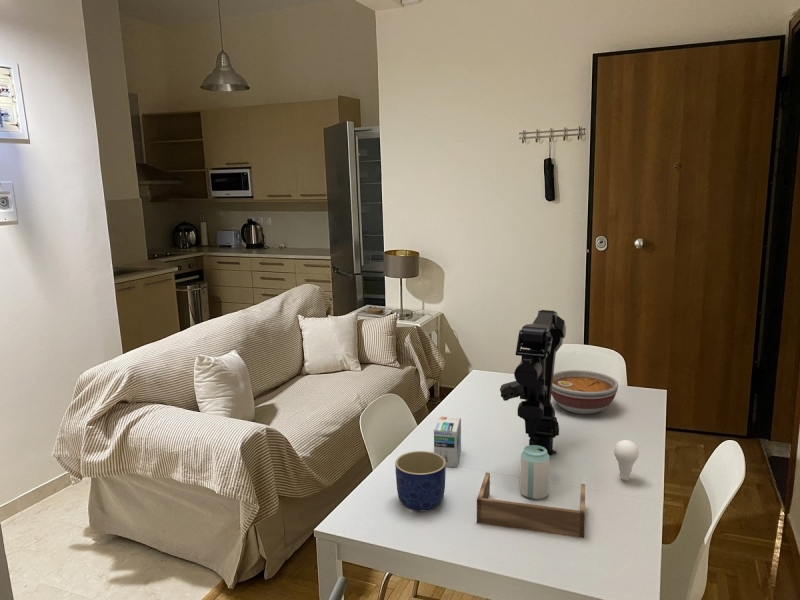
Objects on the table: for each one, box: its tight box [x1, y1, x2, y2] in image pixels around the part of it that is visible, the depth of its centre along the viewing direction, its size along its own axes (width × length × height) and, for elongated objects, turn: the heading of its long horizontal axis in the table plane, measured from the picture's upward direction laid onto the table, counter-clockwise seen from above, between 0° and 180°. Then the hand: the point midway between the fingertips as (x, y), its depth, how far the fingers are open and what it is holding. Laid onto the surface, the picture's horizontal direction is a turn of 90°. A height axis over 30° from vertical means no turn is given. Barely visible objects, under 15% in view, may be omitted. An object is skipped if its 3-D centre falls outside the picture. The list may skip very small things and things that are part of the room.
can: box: [519, 444, 551, 500], centre depth 154 cm, size 7×7×12 cm
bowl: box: [551, 369, 619, 415], centre depth 209 cm, size 23×23×10 cm
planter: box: [394, 450, 447, 512], centre depth 152 cm, size 12×12×11 cm
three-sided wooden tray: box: [476, 471, 586, 539], centre depth 146 cm, size 14×24×6 cm, turn 73°
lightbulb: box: [613, 439, 640, 481], centre depth 160 cm, size 6×6×11 cm
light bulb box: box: [433, 415, 462, 468], centre depth 175 cm, size 11×7×11 cm, turn 169°
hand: (532, 430), depth 162 cm, fingers open, 9 cm apart
